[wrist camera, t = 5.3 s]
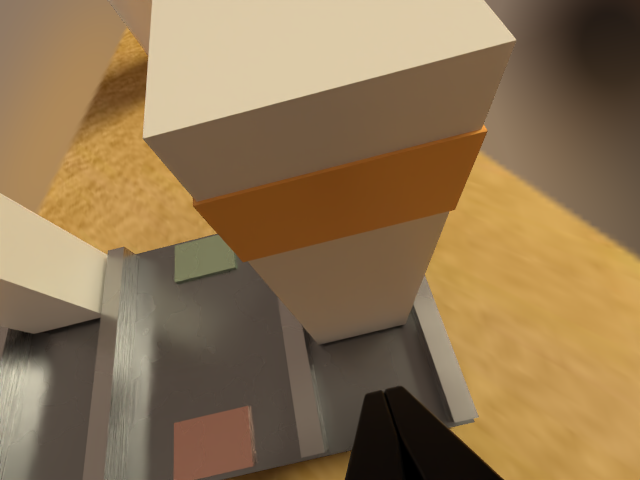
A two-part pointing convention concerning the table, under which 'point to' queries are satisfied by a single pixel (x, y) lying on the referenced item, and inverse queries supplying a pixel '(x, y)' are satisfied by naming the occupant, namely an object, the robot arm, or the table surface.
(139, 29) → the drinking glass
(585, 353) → the table surface
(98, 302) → the on lever
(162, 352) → the box
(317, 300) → the lever
